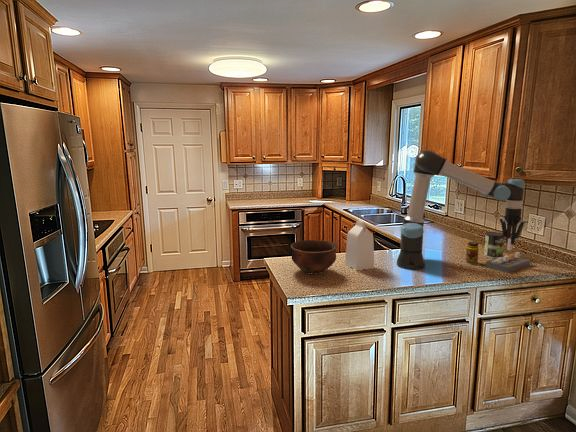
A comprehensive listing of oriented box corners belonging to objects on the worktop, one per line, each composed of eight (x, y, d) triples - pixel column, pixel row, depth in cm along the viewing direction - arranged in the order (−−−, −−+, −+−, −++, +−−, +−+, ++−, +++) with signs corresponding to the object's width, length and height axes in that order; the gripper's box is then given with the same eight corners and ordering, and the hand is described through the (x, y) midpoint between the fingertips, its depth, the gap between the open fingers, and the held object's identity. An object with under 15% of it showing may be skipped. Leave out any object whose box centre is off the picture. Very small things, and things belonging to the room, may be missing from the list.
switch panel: (507, 272, 197) (508, 267, 197) (485, 266, 207) (485, 261, 207) (530, 264, 210) (530, 259, 209) (508, 259, 220) (508, 254, 219)
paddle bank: (499, 264, 202) (500, 258, 201) (496, 263, 203) (497, 258, 202) (519, 257, 213) (520, 252, 212) (517, 257, 214) (517, 252, 213)
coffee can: (507, 257, 224) (509, 234, 221) (493, 259, 221) (495, 236, 218) (493, 253, 233) (495, 231, 231) (479, 254, 231) (481, 232, 228)
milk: (345, 264, 214) (345, 220, 209) (362, 262, 218) (363, 218, 213) (356, 270, 203) (357, 224, 198) (374, 268, 207) (375, 222, 202)
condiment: (467, 264, 211) (469, 244, 209) (461, 260, 220) (463, 240, 218) (480, 265, 211) (482, 244, 209) (474, 260, 219) (476, 240, 217)
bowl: (287, 278, 192) (287, 250, 189) (293, 264, 216) (293, 238, 213) (336, 280, 188) (336, 251, 186) (336, 265, 213) (337, 239, 210)
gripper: (530, 208, 199) (525, 251, 203) (505, 205, 210) (501, 246, 214) (522, 210, 195) (518, 253, 199) (497, 206, 206) (494, 248, 210)
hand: (509, 249), depth 207 cm, fingers closed
